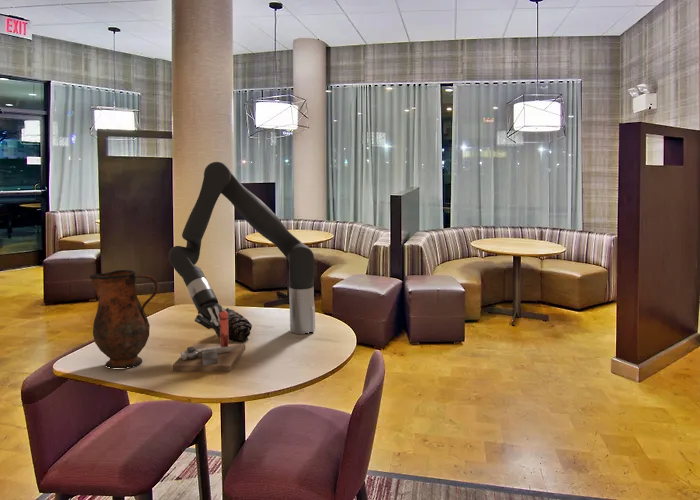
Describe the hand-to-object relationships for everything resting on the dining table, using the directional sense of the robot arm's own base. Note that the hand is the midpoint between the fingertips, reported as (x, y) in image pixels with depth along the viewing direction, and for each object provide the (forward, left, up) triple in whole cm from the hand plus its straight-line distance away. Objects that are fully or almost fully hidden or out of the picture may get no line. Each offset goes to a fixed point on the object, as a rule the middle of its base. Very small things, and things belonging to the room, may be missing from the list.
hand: (223, 336), depth 178 cm
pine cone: (+1, -20, -7) cm, 21 cm away
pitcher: (+28, +8, -7) cm, 30 cm away
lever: (+4, +5, -4) cm, 8 cm away
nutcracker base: (+3, +4, -7) cm, 8 cm away
